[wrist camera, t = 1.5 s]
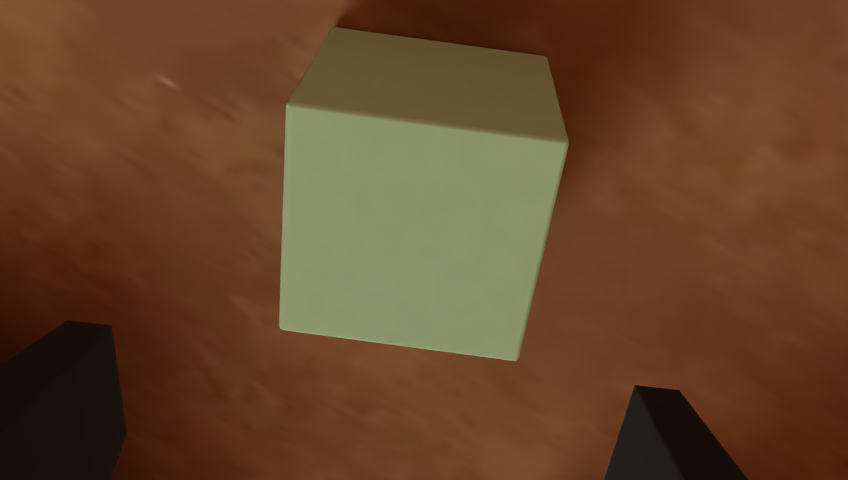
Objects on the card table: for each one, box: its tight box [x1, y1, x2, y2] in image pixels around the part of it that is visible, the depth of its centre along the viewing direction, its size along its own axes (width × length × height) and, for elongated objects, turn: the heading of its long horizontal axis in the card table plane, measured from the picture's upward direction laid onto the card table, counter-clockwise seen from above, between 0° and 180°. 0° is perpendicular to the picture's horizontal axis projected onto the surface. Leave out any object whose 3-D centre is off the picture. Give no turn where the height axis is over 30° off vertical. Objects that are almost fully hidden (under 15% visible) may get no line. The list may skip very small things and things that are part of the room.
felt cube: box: [279, 27, 569, 361], centre depth 17 cm, size 5×5×5 cm
